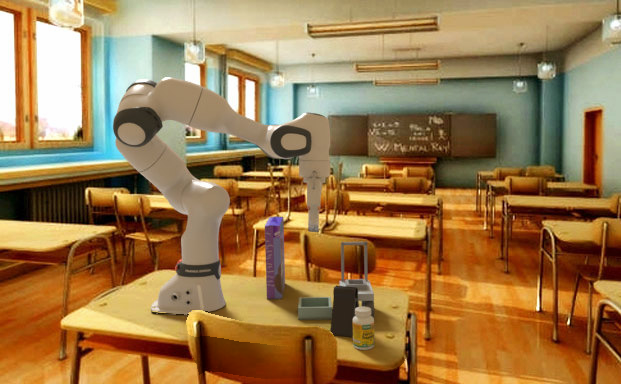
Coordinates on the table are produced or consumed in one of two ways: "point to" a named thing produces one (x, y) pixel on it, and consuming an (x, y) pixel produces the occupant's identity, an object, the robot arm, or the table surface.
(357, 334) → the supplement bottle
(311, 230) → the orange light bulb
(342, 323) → the phone stand
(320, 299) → the bin
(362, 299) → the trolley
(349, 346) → the table surface
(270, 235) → the cereal box
